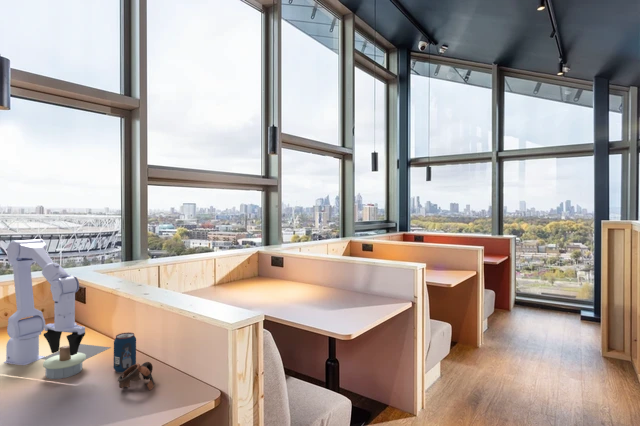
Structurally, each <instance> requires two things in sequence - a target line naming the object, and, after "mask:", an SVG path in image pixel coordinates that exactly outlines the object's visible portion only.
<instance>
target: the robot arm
mask: <svg viewBox="0 0 640 426" xmlns="http://www.w3.org/2000/svg"><path fill="white" fill-rule="evenodd" d="M6 252H7V253H6V254H7V261H8V264H10V265H12V272H13V280H14V281H13V282H14V283H13V284H14V292H15V301H16V302H15V303H16V311H15V312H13V314H11V315H10V316H9V317H8V318H7V320H8V321H7V328H6V329H7V330H6V331H7V335H8V336H9V339H8V341H7V342H6V349H5V350H6V355H5V356H6V359H5V360H6V361H4V362H3V363H4V364H11V365H19V366H27V365H29V364H32V363H35V362H37V361H39V360H42V359H41V358H44V357H46V356H45V355H40V336H41V335H42V332H43V331H44V333H43V337H44V338H45V340H46V341H47V343H48V345H49V348H50V352H51V354H53V353H56V352H58V351H59V348H60V347H61V346H60V344H61V343H60V342H61V338H62V334H63V333H69V334H68V335H66V339H67V342H68V346H69V347H70V355H75V354H77V352H78V348H79V345H80V344H82V343H81V342H82V341H83V339H84V336H86V327H85V326H81V325H78V324H77V322H76V320H75V319H76V317H75V316H76V293H77V292H78V291H79V289H80V282H79V279H78V277H77V276H76V275H71V274H68V273H67V271H66V270H65V269H64V267H63V266H61V264H59V262H53V260H52V258H51V257H50V255H49V253H47V244H46V242H45V240H44V239H42V238H37V239H24V240H22V239H21V240H17V239H16V240H11V241H10V242H9V243H8V246H7V248H6ZM33 263H36V264H37V265H38V266H39V267H40V268H41V269H42V270H41V275H42V276H43V277H44V278H45V280H46V281H47V282H48V283H49V285H50V293H51V295H52V301H54V308H53V309H54V310H53V312H54V322H53V323H47V324H46V320H45V318H44V314H43V311H41V310H40V309H37V308H35V301H34V289H33V280H32V279H33V278H32V268H31V266H32V264H33Z"/></svg>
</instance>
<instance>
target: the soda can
mask: <svg viewBox="0 0 640 426" xmlns="http://www.w3.org/2000/svg"><path fill="white" fill-rule="evenodd" d="M135 364H137V338H136V336H135V333H134V332H121V333H118V334H117V335H115V339H114V340H113V370H114V371H115V372H116V373H118V374H123V372H124V371H125V370H127V369H128V368H129V367H131V366H132V365H135Z"/></svg>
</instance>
